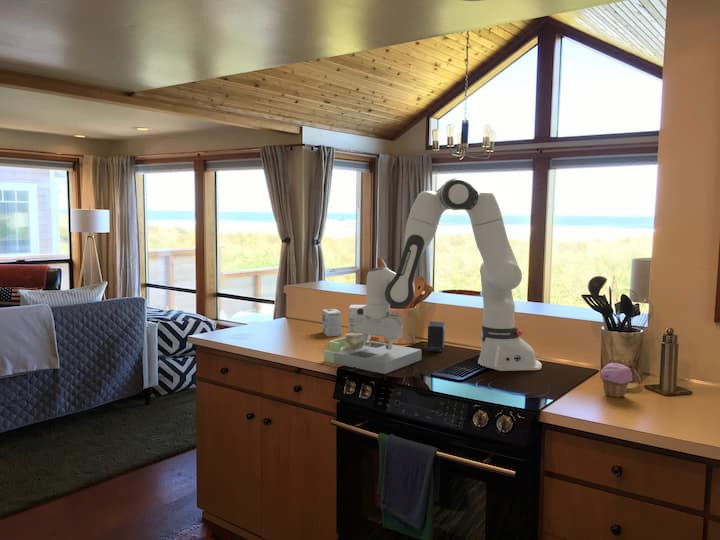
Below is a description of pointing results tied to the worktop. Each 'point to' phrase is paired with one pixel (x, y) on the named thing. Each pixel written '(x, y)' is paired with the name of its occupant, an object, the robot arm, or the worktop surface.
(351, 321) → the supplement box
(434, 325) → the small box
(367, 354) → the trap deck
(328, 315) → the light bulb box
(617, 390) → the cupcake
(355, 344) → the birch block
